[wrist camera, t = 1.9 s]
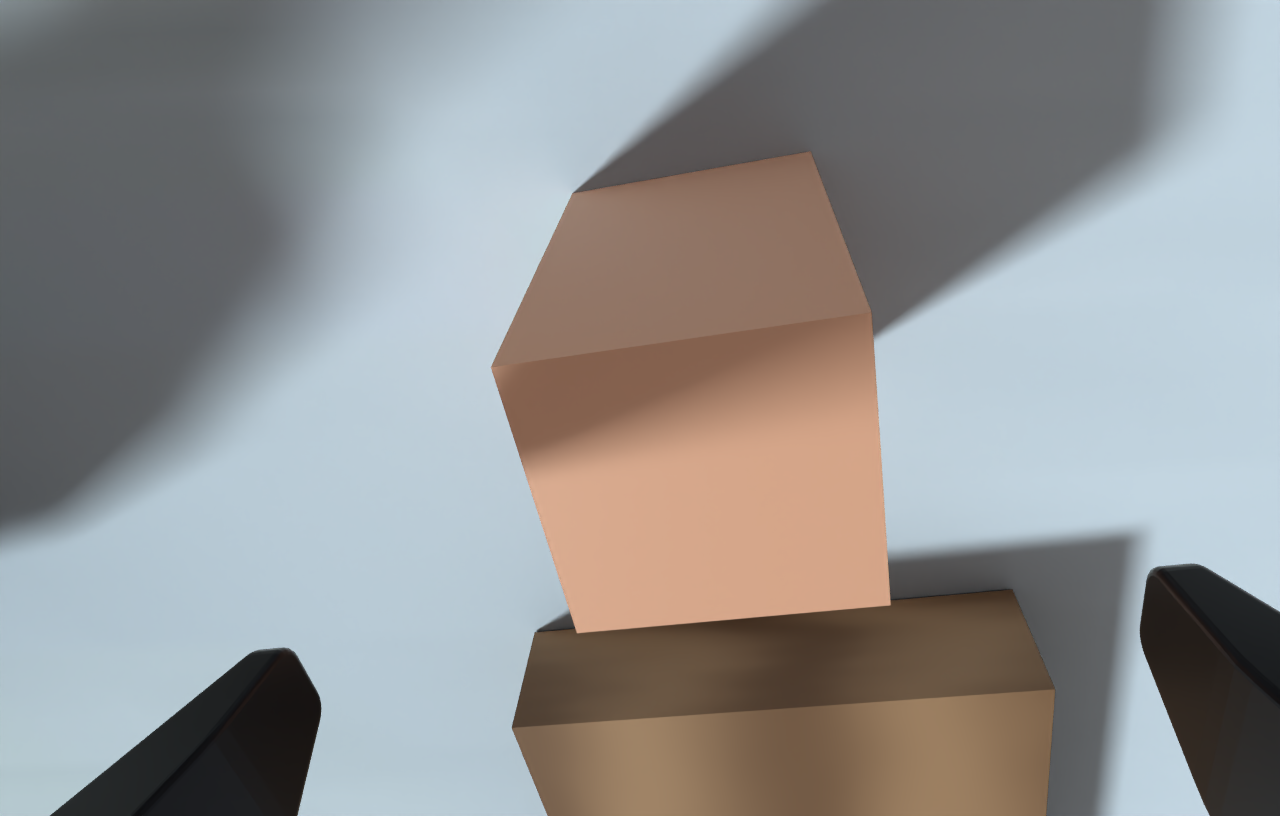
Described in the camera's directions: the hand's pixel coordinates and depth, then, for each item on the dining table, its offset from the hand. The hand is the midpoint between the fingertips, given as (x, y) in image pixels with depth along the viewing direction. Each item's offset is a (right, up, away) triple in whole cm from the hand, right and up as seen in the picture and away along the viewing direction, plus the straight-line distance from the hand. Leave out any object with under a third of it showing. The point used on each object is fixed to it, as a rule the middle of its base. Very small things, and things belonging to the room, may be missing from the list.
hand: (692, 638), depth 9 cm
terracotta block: (+1, +5, +8) cm, 10 cm away
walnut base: (+4, -8, +15) cm, 18 cm away
